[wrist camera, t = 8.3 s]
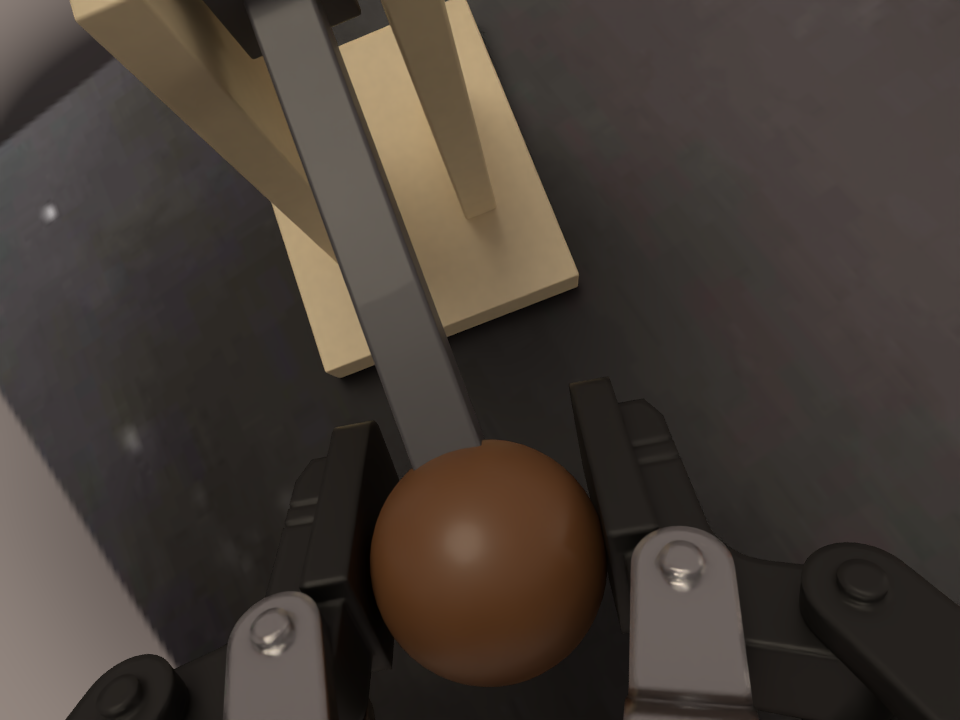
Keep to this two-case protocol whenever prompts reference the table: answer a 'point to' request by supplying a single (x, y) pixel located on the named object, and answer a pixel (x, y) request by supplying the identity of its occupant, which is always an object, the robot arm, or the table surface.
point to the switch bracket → (398, 139)
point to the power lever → (429, 404)
